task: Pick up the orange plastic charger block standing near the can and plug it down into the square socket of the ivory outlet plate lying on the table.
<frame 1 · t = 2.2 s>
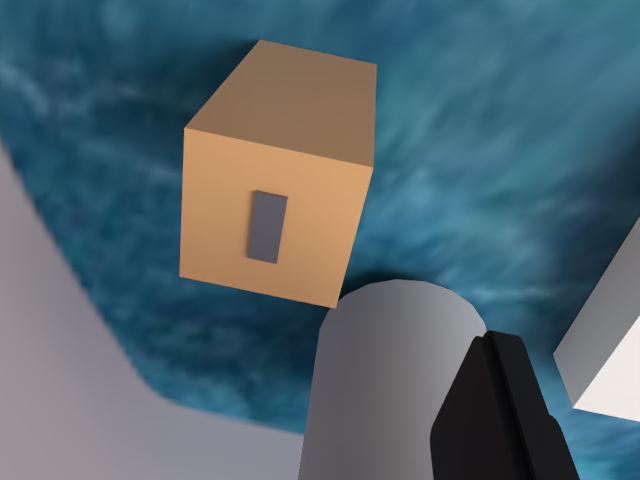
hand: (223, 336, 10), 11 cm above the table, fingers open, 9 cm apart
can: (400, 328, 24), on the table
charger: (308, 108, 18), on the table
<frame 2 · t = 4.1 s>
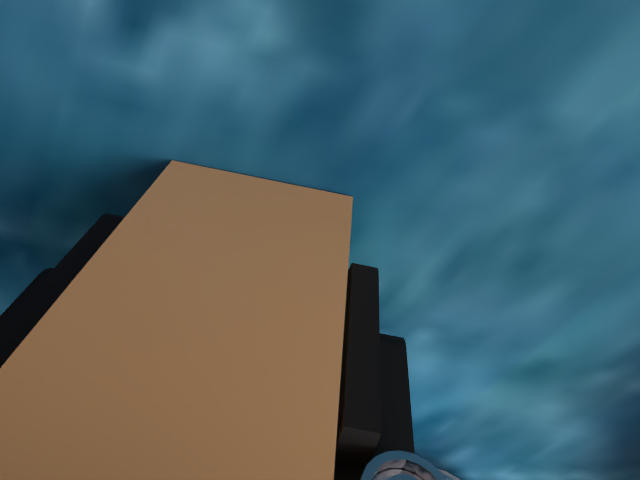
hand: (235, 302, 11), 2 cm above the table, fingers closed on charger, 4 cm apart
charger: (252, 253, 12), on the table, touching gripper
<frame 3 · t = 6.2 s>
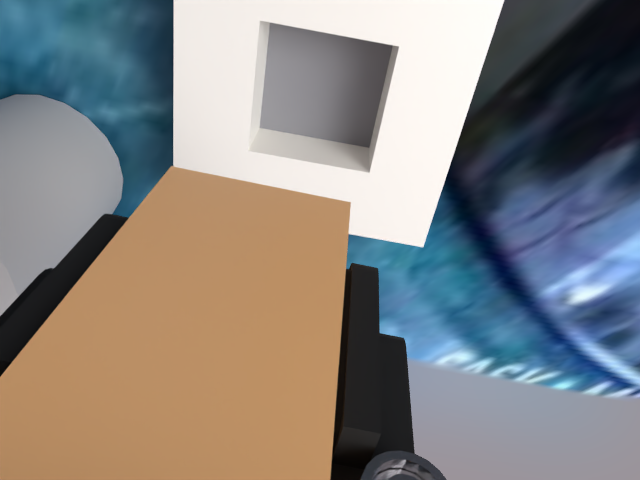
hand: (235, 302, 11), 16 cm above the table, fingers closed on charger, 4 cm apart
can: (60, 158, 27), on the table
outlet plate: (323, 81, 24), on the table
charger: (251, 258, 12), point 14 cm above the table, touching gripper
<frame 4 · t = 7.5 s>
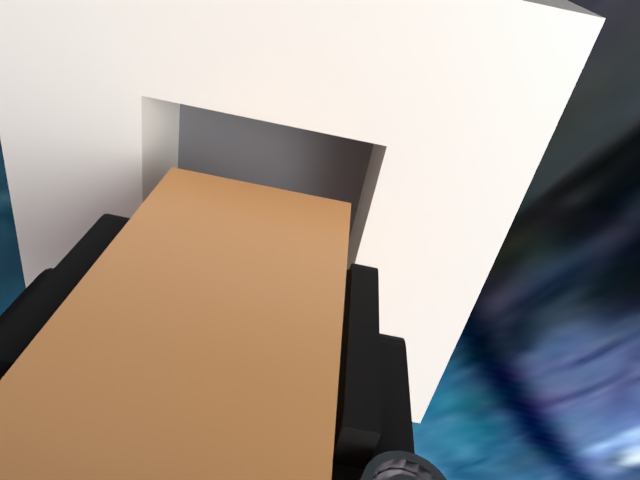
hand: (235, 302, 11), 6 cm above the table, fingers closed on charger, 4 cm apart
outlet plate: (271, 172, 15), on the table
charger: (252, 258, 12), point 4 cm above the table, touching gripper
when the fingers open (4 cm above the table, at t = 8.5 s): charger drops 2 cm, resting on outlet plate.
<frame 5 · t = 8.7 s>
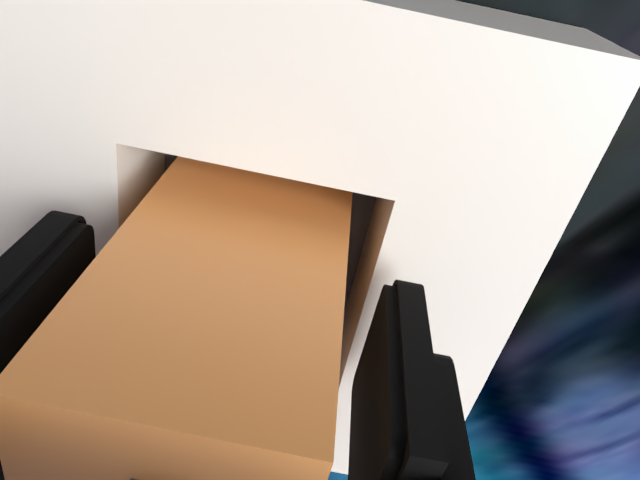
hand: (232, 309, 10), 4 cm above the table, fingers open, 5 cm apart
outlet plate: (266, 215, 14), on the table
charger: (263, 223, 14), resting on outlet plate
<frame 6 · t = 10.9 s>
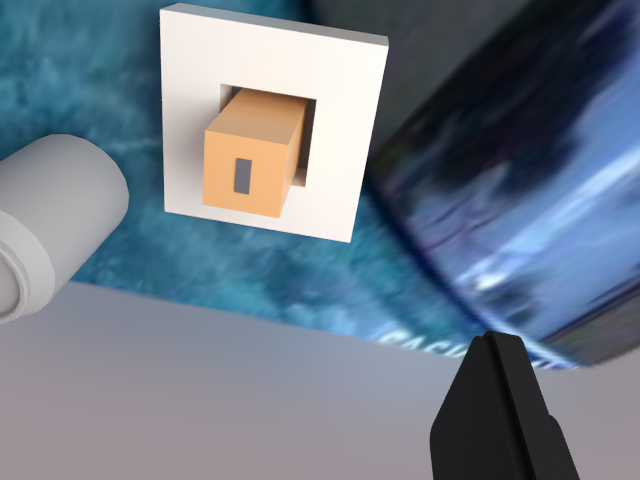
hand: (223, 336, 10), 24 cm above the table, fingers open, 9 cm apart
can: (83, 180, 36), on the table
outlet plate: (273, 121, 32), on the table
charger: (272, 124, 32), resting on outlet plate
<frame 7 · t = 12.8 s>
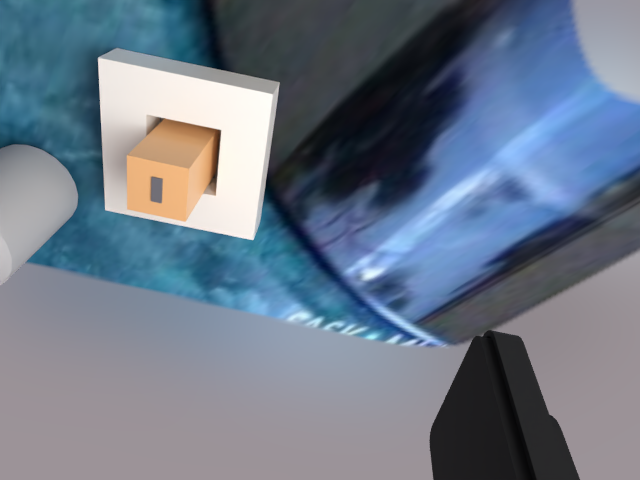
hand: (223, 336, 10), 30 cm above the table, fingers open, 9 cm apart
can: (40, 180, 44), on the table
outlet plate: (194, 142, 41), on the table
charger: (193, 144, 40), resting on outlet plate
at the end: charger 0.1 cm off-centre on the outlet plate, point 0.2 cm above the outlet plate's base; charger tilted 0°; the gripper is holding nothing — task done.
